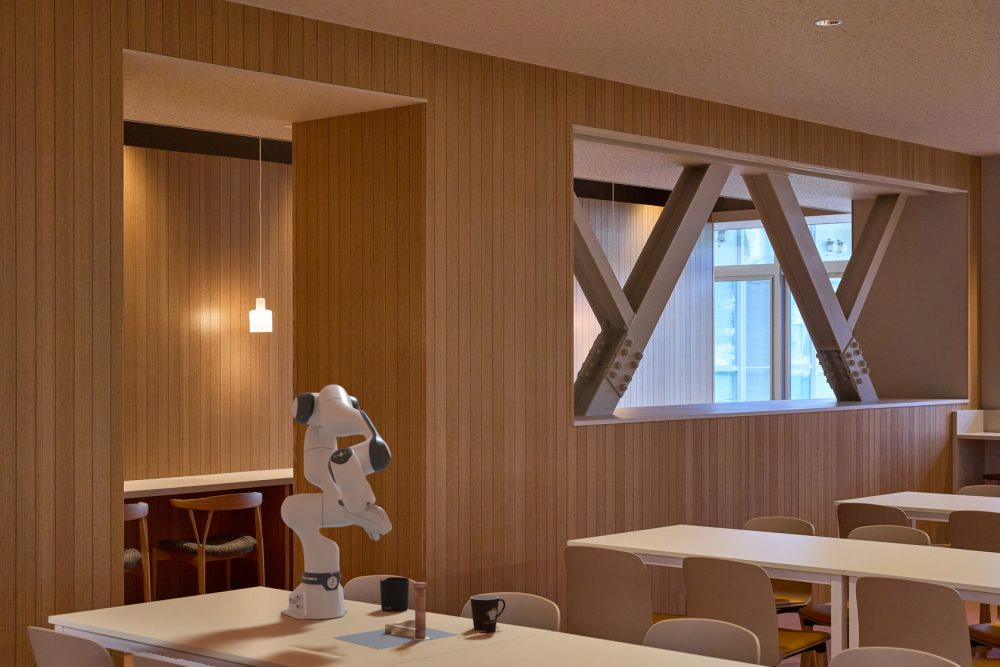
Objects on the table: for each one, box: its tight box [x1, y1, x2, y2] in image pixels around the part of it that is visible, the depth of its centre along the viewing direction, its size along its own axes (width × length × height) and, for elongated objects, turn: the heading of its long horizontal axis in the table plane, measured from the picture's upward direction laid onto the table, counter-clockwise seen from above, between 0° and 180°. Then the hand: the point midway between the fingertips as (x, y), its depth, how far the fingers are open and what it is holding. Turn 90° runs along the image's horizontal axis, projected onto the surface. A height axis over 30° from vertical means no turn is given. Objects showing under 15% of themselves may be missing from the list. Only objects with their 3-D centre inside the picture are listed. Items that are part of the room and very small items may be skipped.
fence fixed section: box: [384, 618, 415, 634], centre depth 370 cm, size 15×3×2 cm, turn 140°
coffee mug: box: [469, 594, 506, 634], centre depth 372 cm, size 12×9×10 cm
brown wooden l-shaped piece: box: [392, 581, 428, 639], centre depth 360 cm, size 13×4×16 cm, turn 48°
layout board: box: [333, 627, 459, 650], centre depth 361 cm, size 22×29×1 cm
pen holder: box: [379, 576, 410, 613], centre depth 408 cm, size 9×9×10 cm
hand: (375, 538), depth 372 cm, fingers closed
